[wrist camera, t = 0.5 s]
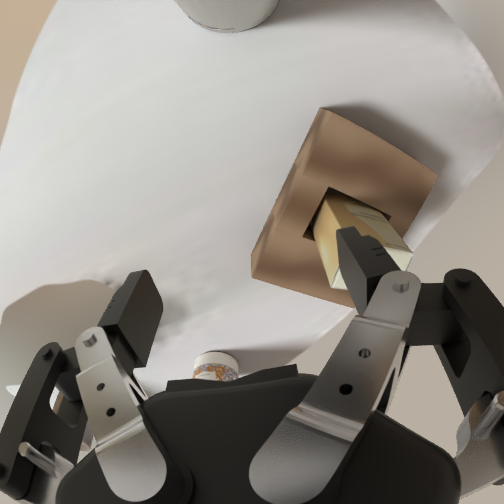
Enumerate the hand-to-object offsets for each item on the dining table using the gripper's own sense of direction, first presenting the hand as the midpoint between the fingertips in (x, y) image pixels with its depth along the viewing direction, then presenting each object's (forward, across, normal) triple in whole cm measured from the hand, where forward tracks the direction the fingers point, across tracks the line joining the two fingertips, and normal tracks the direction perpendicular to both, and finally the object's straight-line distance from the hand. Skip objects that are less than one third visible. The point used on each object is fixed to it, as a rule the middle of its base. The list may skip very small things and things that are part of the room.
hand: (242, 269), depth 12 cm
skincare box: (+20, -9, +7) cm, 23 cm away
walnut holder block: (+20, -9, +7) cm, 23 cm away
